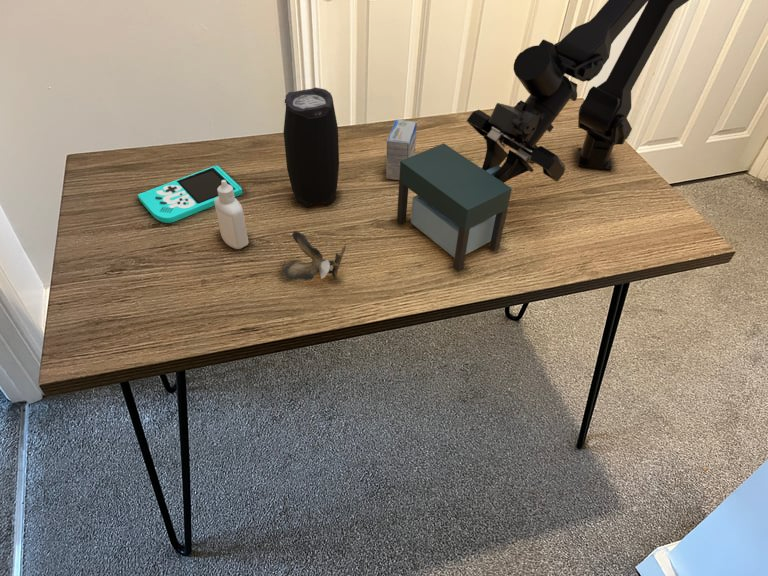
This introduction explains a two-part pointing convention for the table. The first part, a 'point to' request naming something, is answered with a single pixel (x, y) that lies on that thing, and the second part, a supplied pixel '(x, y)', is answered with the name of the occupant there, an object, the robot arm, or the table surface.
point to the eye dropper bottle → (230, 217)
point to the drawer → (449, 225)
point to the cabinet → (454, 193)
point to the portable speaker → (311, 146)
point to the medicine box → (400, 146)
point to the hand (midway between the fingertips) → (483, 186)
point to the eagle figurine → (317, 265)
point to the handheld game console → (186, 195)
